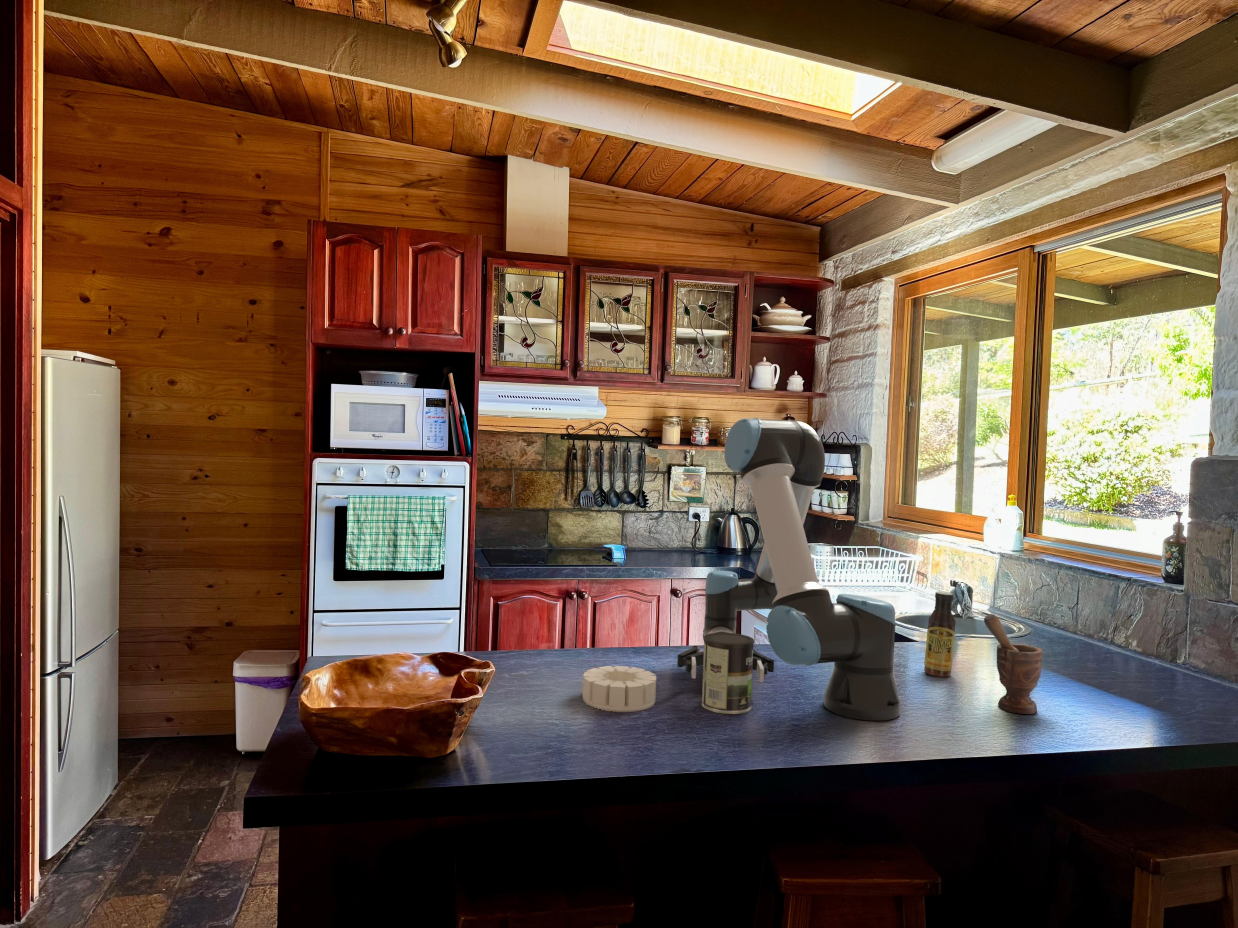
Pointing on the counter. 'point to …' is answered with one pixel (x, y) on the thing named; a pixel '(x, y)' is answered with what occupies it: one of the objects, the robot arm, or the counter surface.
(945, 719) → the counter surface
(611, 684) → the cream cog ring
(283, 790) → the counter surface
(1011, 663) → the mortar and pestle
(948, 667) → the sauce bottle
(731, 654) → the coffee can
